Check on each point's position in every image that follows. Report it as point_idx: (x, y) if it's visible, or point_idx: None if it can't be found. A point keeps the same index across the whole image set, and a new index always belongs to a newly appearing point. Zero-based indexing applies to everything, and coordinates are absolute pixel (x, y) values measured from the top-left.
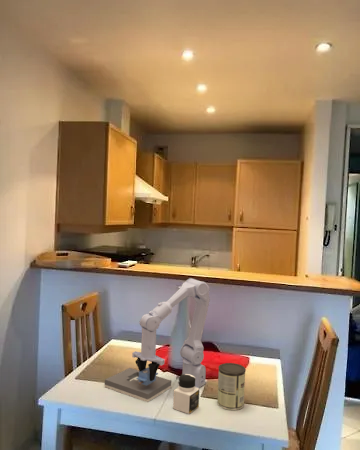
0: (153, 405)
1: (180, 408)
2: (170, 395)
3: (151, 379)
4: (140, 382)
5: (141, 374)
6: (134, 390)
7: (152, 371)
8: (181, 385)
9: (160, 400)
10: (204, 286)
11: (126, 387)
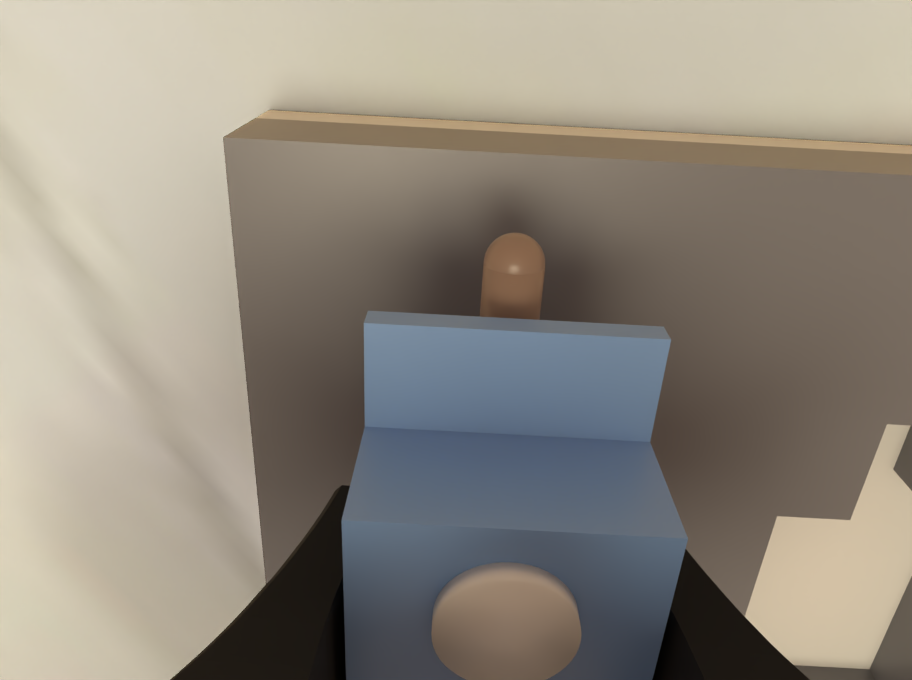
0: (106, 61)
1: None
2: (158, 483)
3: (324, 509)
4: (495, 281)
5: (571, 491)
6: (601, 155)
7: (179, 673)
8: None
9: (152, 284)
10: None
11: (832, 167)
